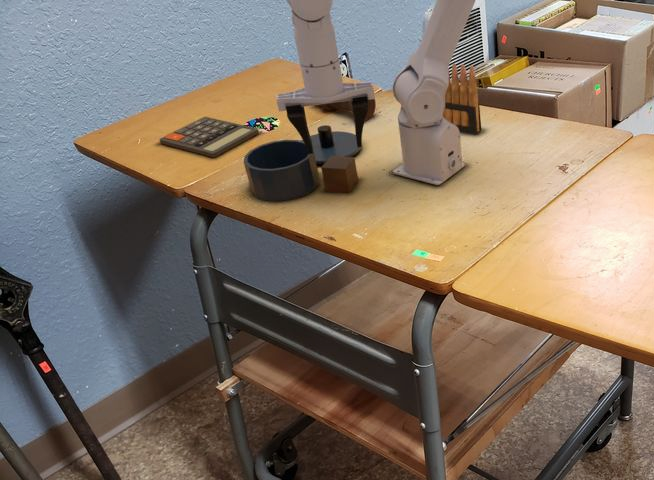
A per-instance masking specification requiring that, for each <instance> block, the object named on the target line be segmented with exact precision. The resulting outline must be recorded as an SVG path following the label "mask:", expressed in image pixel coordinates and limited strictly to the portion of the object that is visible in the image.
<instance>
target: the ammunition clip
mask: <svg viewBox="0 0 654 480" xmlns="http://www.w3.org/2000/svg"><path fill="white" fill-rule="evenodd" d="M449 68H450V67H448V75H449V84H448V87H447V90H446V93H445V109H444V112H443V117H444V118H445V119H446V120H447V121H448V122H450V123H452V124H455V125H456V126H457V127H458V129H459V132H460V133H463V134H465V133H466V134H470V135H477V134H479V133H480V132H481V131H482V121H481V118H482V117H481V107H480V103H479V95H478V94H479V93H478V92H479V91H478V88H477V77H476V72H475V68H474V66H473V65H472V64H471V65H470V66H469V72H468V75H467V69H466V67H465V64H463V63H462V64H461V66H460V71H459V72H458V68H457V65H456V64H455V62H453V63H452V66H451V76H450V69H449ZM459 76H460V77H459Z"/></svg>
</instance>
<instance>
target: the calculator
mask: <svg viewBox="0 0 654 480" xmlns="http://www.w3.org/2000/svg"><path fill="white" fill-rule="evenodd" d="M259 133H260V132H259V129H258V128H256V127H253V126H247V125H244V124H239V123H235V122H230V121H227V120H222V119H217V118H213V117H210V116H209V117H208V116H203V117H201V118H198V119H197V120H194V121H193V122H191V123H189V124H187V125H185V126H183V127H181V128H179V129H177V130H174V131H173V132H171V133H169V134H167V135H164V136H163V137H160V138H159V142H160V144H162V145H166V146H169V147H173V148H177V149H180V150H184V151H188V152H192V153H195V154H199V155H202V156H207V157H210V158H216V157H218V156H220V155H223V154H224V153H226V152H227V151H229V150H232V149H233V148H235V147H237V146H239V145H240V144H242V143H244V142H247V140H249V139H251V138H253V137H254V136H256V135H258V134H259Z"/></svg>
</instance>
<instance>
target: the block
mask: <svg viewBox="0 0 654 480" xmlns="http://www.w3.org/2000/svg"><path fill="white" fill-rule="evenodd" d="M320 169H321V174H322V179H323V184H324V189H325V191H326V192H331V193H346V194H350V193H351V192H352V191H353V189H354V188H355V187H356V185H357V183H358V182H359V176H358V169H357V164H356V157H354V156H351V157H338V156H330V158H329V159H328V160H327V161H326V162H325V163H323V164H322V166H321V167H320Z"/></svg>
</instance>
